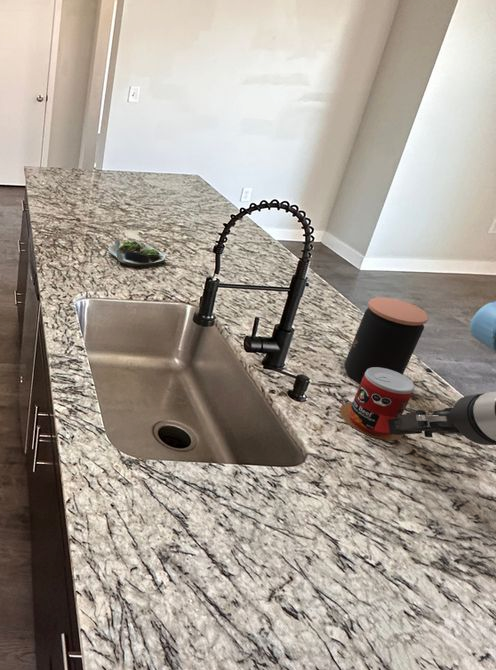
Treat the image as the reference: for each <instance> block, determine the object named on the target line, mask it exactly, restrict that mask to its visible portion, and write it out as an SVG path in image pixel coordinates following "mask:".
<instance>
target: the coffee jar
mask: <svg viewBox="0 0 496 670" xmlns="http://www.w3.org/2000/svg"><path fill="white" fill-rule="evenodd" d="M367 306H368V307H367V308H366V310H365V311H364V312H363V315H362V318H361V321H360V323H359V325H358V328H357V330H356V333H355V336H354V338H353V341H352V342H351V346H350V348H349V351H348V353H347V356H346V358H345V361H344V369H345V372H346V374H347V376H348V377H349V378H351V379H352V380H353V381H355V382H356V383H358V384H360V383H361V381H362V379H363V376H364V374H365V372H366V371H367V369H369V368H372V367H380V368H386V369H389V370H393V371H395V372H398V373H400V374H402V375H404V373H405V371H406V370H407V367H408V365H409V362H410V361H411V358H412V355H413V353H414V352H415V349H416V347H417V345H418V342H419V341H420V339H421V336H422V334H423V332H424V329H425V324H427V322H428V321H429V318H430V317H429V315H428V313H427V312H426V311H424V310H423V309H422V308H420V307H418V306H417V305H414V304H412V303H409V302H407V301H404V300H400V299H397V298H391V297H382V296H381V297H373V298H371V299H369V301H368V303H367Z"/></svg>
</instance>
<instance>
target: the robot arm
mask: <svg viewBox="0 0 496 670" xmlns="http://www.w3.org/2000/svg"><path fill="white" fill-rule="evenodd" d="M469 330H470V334H471V336H472V337H473V338H474V339H475V340H476V341H478V343H481V344H483V345H484V346H486V347H487V348H489V349H490V350H492V351H494V352H495V353H496V300H494V301H493V302H487V303H486V304H484V305H483V306H481V308H479V309H478V311H476V312H475V314H474V316H473V317H472V319H471V321H470V324H469ZM388 424H389V431H390V434H394V435H403V436H404V435H420V434H423V433H424V438H434V437H433V436H434V435H433V434H439V435H462V436H463V437H464V438H466V439H467V440H469V441H470V442H472V443H474V444H476V445H480V446H496V391H495V390H494V391H489V392H485V393H477V394H470V395H465V396H463V397H460V398H459V399H458V400H457V401H456V402H455V403H454V404H453V406H452V407H444V408H443V409H439V410H433V411H432V413H431V414H429V411H426V410H425V409H424V410H423V409H417V410H416V409H415V411H413V412H405V413H403V414H402V415H400V416H399V418H397V419H388Z"/></svg>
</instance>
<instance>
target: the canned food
mask: <svg viewBox="0 0 496 670" xmlns="http://www.w3.org/2000/svg"><path fill="white" fill-rule="evenodd" d="M415 388H416V386H415V384H414V382H413V381H412V380H411V379H410V378H408V377H407V376H405V375H404V374H403V375H402V374H400V373H398V372H395V371H393V370H389V369H386V368H380V367H372V368H369V369H367V371H366V372H365V374H364V376H363V379H362V381H361V383H359V386H358V388H357V391H356V394H355V396H354V398H353V401H352V402H351V403H352V405H351V408H350V410H349V417H350V419H351V420H352V422H353V423H354V424H356V425H357V426H358V427H360V428H362V429H363V430H366V431H368V432H371V433H374V434H379V435H388V434H390V431H389V424H388V419H397V418H399V416H400V415H404V412H405V410H406V408H407V407H408V406H407V405H408V403H409V401H410V399H411V398H412V396H413V393H414V390H415Z"/></svg>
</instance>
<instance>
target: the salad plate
mask: <svg viewBox="0 0 496 670" xmlns="http://www.w3.org/2000/svg"><path fill="white" fill-rule="evenodd" d="M113 242H114V244H112V245H110V246H109V247H108V252H109V253H110V254H111V255H112V256H113V257H115V258H116V259H117V261H118V262H120V263H121V264H122V265H124V266H126V267H132V268H139V269H141V268H153V267H157V266H159V265H161V264H163V263H164V262H165V261H166V255H165V254H164V253H162V252H160V251H159V250H157V249H156V248H155V247H153V246H151V245H150V244H147V243H144V242H137V241H135V240H132V241H130V240H129V241H127V239H125V240H124V241H123V243H121V241H120V240H119V239H115V240H114V241H113Z"/></svg>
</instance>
